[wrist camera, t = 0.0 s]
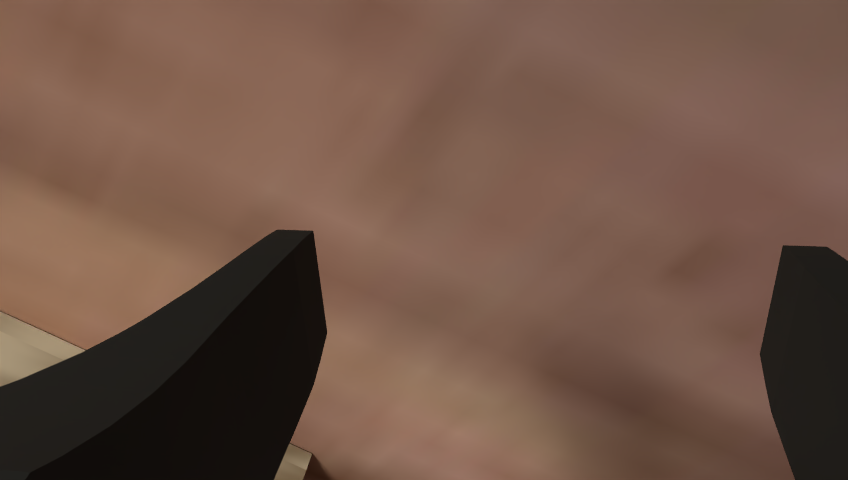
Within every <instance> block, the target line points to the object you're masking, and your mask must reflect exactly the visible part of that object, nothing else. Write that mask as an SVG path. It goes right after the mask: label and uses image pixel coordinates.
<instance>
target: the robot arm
mask: <svg viewBox="0 0 848 480" xmlns="http://www.w3.org/2000/svg"><path fill="white" fill-rule="evenodd" d="M326 335H327V328H326V320H325V313H324V306H323V299H322V291H321V284H320V277H319V270H318V262H317V255H316V248H315V241H314V233H313V231H301V230H276V231H274V232H272V233H271V234H269V235H268V236H266V237H264V238H263V239H262V240H260V241H259V242H257V243H256V244H254V245H253V246H251V247H250V248H249V249H247V250H246V251H244V252H243V253H242V254H240V255H239V256H238V257H236V258H235V259H233V260H232V261H231V262H229V263H228V264H226V265H225V266H224V267H222V268H221V269H219V270H218V271H216V272H215V273H214V274H212V275H211V276H209V277H208V278H207V279H205V280H204V281H202V282H201V283H199V284H198V285H197V286H195V287H194V288H192V289H191V290H189V291H188V292H186V293H184V294H183V295H181V296H180V297H178V298H177V299H175V300H173V301H172V302H170V303H169V304H167V305H166V306H164V307H163V308H161V309H159V310H158V311H156V312H155V313H153V314H152V315H150V316H148V317H147V318H145V319H144V320H142V321H140V322H138V323H137V324H135V325H133V326H131V327H130V328H128V329H126V330H124V331H122V332H121V333H119V334H117V335H115V336H113V337H111V338H109V339H107V340H105V341H103V342H101V343H100V344H98V345H96V346H94V347H92V348H90V349H88V350H86V351H84V352H82V353H79V354H77V355H75V356H73V357H70V358H68V359H66V360H63V361H61V362H59V363H57V364H54V365H52V366H50V367H47V368H45V369H43V370H40V371H38V372H36V373H33V374H31V375H29V376H27V377H24V378H22V379H19V380H17V381H14V382H12V383H9V384H6V385H3V386H1V387H0V480H274V479H275V476H276V474H277V471H278V469H279V467H280V464H281V462H282V460H283V457H284V455H285V453H286V450H287V448H288V445H289V443H290V441H291V438H292V436H293V434H294V431H295V429H296V427H297V424H298V422H299V419H300V417H301V414H302V412H303V410H304V407H305V405H306V402H307V400H308V398H309V395H310V393H311V390H312V388H313V385H314V382H315V378H316V374H317V371H318V367H319V364H320V360H321V356H322V352H323V347H324V343H325V339H326ZM760 357H761V363H762V368H763V373H764V379H765V384H766V389H767V394H768V399H769V403H770V408H771V412H772V415H773V418H774V421H775V424H776V427H777V430H778V433H779V435H780V438H781V441H782V444H783V447H784V450H785V453H786V455H787V458H788V461H789V464H790V466H791V469H792V472H793V475H794V478H795V480H848V261H847V260H846V259H844V258H843V257H841V256H840V255H838V254H837V253H836V252H834V251H832V250H831V249H829V248H828V247H816V246H784V245H783V248H782V252H781V257H780V262H779V266H778V271H777V276H776V281H775V285H774V290H773V295H772V300H771V304H770V309H769V314H768V318H767V323H766V328H765V333H764V337H763V342H762V347H761V352H760Z"/></svg>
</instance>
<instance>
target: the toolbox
mask: <svg viewBox="0 0 848 480" xmlns="http://www.w3.org/2000/svg"><path fill="white" fill-rule="evenodd" d="M84 351H86V350H84V349H81V348H79V347H77V346H75V345H73V344H70V343H68V342H66V341H64V340H62V339H60V338H57V337H55V336H53V335H51V334H49V333H46V332H44V331H42V330H40V329H38V328H35V327H33V326H31V325H29V324H27V323H25V322H22V321H20V320H18V319H16V318H14V317H11V316H9V315H7V314H5V313H3V312H0V387H1V386H3V385H6V384H9V383H12V382H14V381H17V380H19V379H22V378H24V377H27V376H29V375H31V374H33V373H36V372H38V371H40V370H43V369H45V368H47V367H50V366H52V365H54V364H57V363H59V362H61V361H63V360H66V359H68V358H70V357H73V356H75V355H77V354H79V353H82V352H84ZM311 455H312V454H311V453H309V452H307V451H305V450H302V449H300V448H298V447H296V446H294V445H292V444H289V445H288V448H287V450H286V453H285V455H284V457H283V460H282V462H281V464H280V467H279V469H278V471H277V474H276V476H275V479H274V480H303V478H304V475H305V472H306V469H307V467H308V464H309V461H310V458H311Z"/></svg>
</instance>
